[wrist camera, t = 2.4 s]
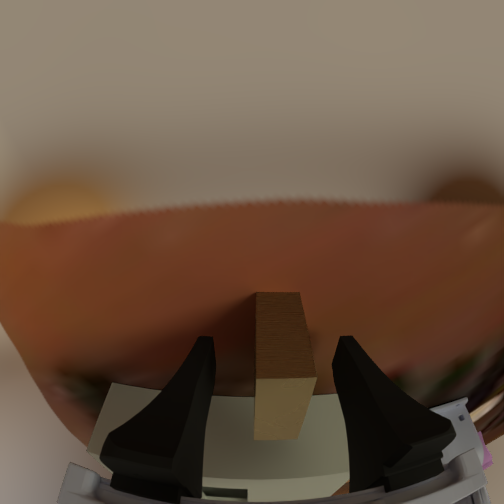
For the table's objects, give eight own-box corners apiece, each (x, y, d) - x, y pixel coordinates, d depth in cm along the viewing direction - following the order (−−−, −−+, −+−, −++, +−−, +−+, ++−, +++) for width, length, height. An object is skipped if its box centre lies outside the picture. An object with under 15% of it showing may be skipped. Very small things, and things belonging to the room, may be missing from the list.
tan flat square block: (299, 291, 13) (317, 377, 8) (289, 362, 15) (297, 439, 11) (256, 291, 13) (256, 378, 8) (254, 362, 15) (253, 440, 11)
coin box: (342, 393, 17) (359, 469, 11) (311, 455, 22) (317, 506, 17) (112, 382, 17) (86, 451, 11) (152, 448, 22) (142, 496, 17)
